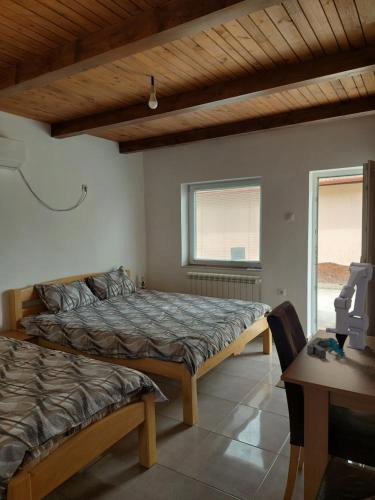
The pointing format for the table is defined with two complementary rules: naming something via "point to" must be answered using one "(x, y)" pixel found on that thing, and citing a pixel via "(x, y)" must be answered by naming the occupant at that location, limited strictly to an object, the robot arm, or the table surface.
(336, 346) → the teal lobed flat part
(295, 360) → the table surface
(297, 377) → the table surface
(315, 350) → the v block
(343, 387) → the table surface
